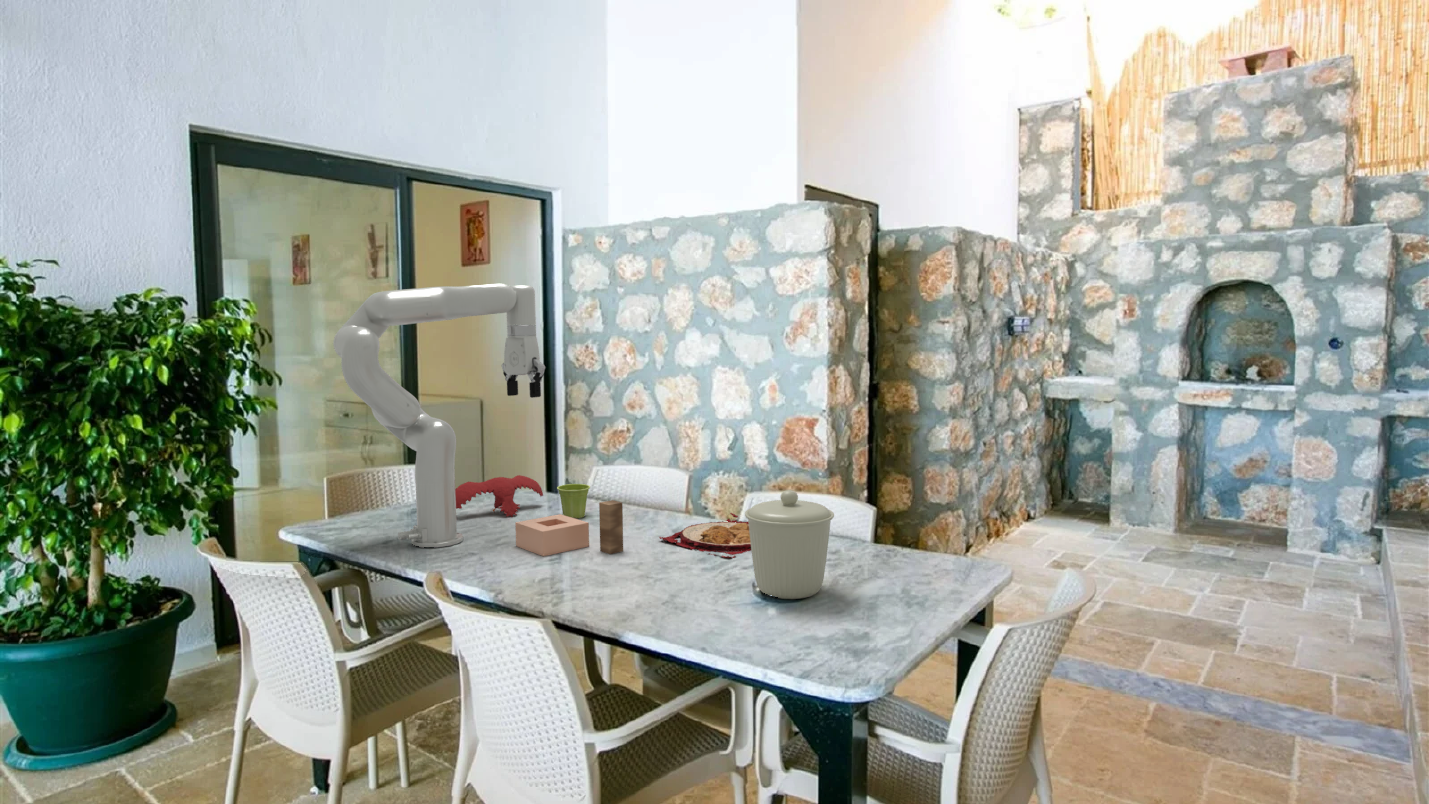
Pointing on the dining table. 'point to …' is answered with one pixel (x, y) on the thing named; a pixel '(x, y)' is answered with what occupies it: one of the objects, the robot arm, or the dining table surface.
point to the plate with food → (715, 537)
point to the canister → (789, 545)
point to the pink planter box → (552, 534)
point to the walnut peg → (611, 526)
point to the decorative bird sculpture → (497, 492)
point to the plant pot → (573, 499)
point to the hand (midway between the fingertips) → (523, 396)
